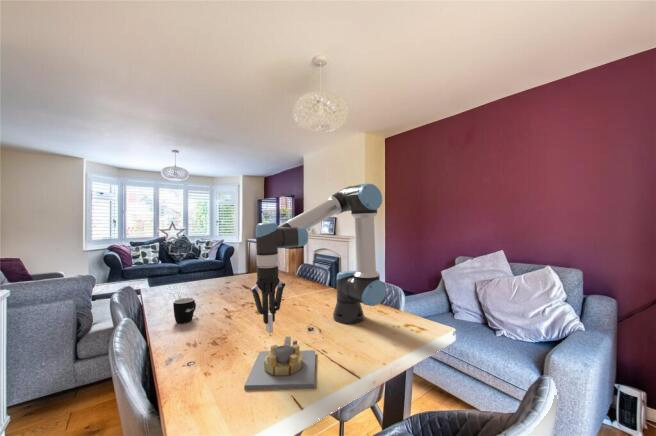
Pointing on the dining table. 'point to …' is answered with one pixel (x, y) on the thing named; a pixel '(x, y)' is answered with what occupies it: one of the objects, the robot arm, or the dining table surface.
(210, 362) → the dining table surface
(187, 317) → the mug
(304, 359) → the hub plate
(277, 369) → the ring nut
